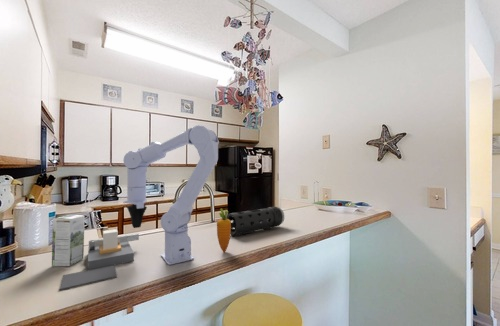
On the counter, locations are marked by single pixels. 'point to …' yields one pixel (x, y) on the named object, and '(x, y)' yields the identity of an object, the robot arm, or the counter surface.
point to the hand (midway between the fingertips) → (136, 227)
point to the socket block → (110, 256)
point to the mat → (88, 277)
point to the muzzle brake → (255, 220)
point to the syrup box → (68, 240)
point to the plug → (110, 242)
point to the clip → (120, 239)
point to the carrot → (223, 230)
